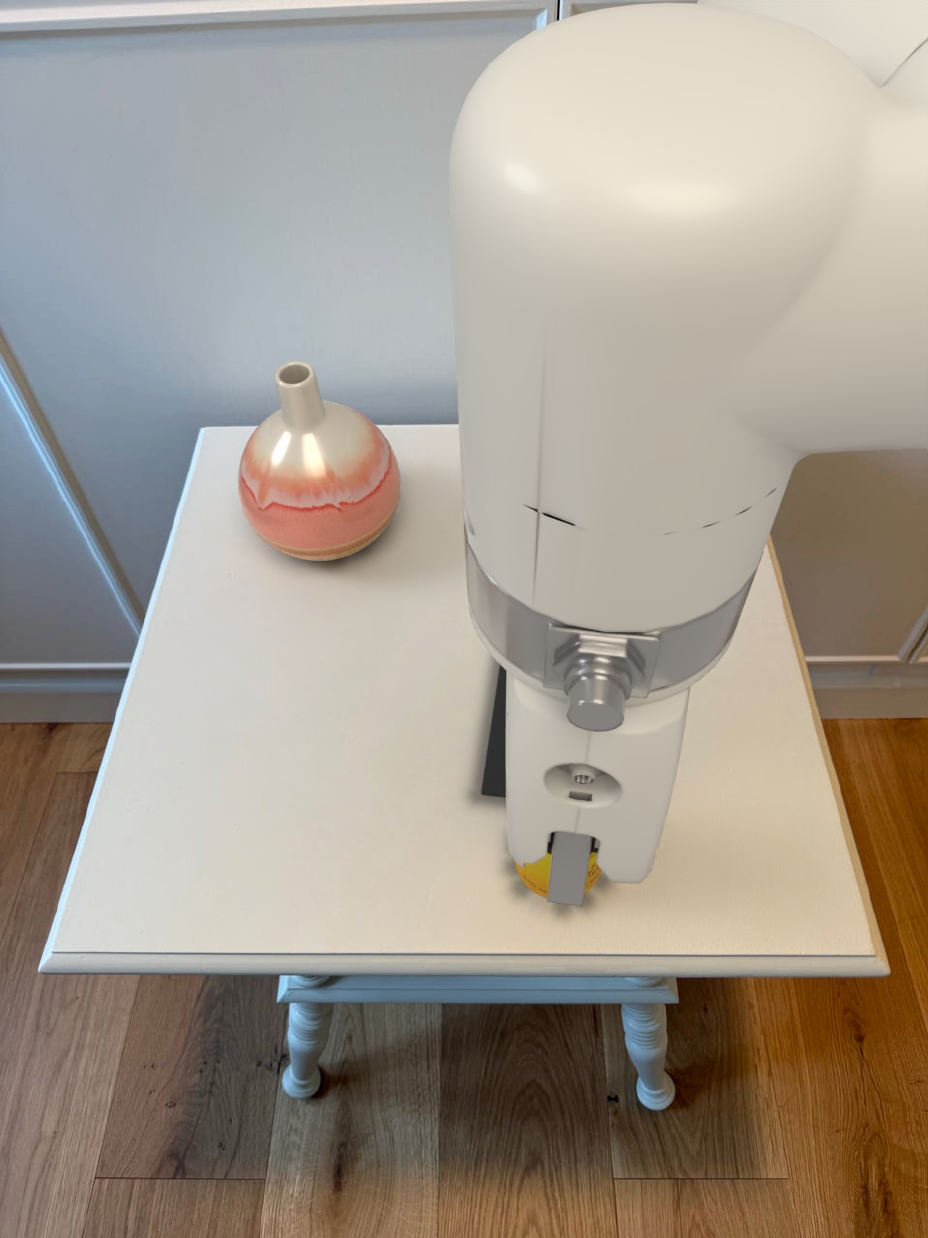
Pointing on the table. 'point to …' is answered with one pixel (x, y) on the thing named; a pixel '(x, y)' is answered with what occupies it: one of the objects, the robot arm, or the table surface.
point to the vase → (317, 473)
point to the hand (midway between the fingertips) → (566, 830)
